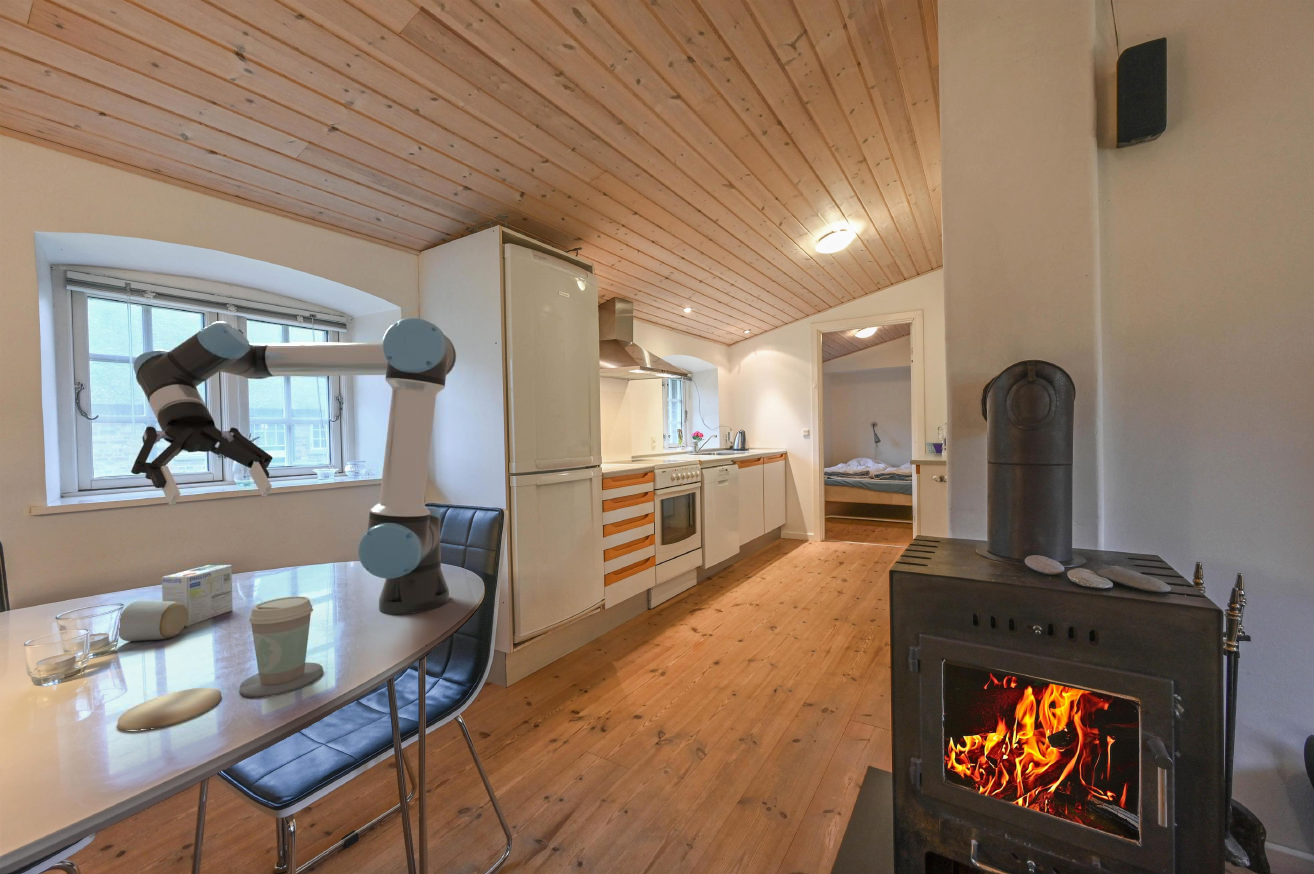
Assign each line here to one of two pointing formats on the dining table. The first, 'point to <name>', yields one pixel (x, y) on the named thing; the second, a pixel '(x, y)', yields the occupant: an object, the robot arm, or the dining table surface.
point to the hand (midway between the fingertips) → (224, 495)
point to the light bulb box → (201, 591)
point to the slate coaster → (257, 689)
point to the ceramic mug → (152, 620)
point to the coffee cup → (281, 638)
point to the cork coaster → (169, 709)
